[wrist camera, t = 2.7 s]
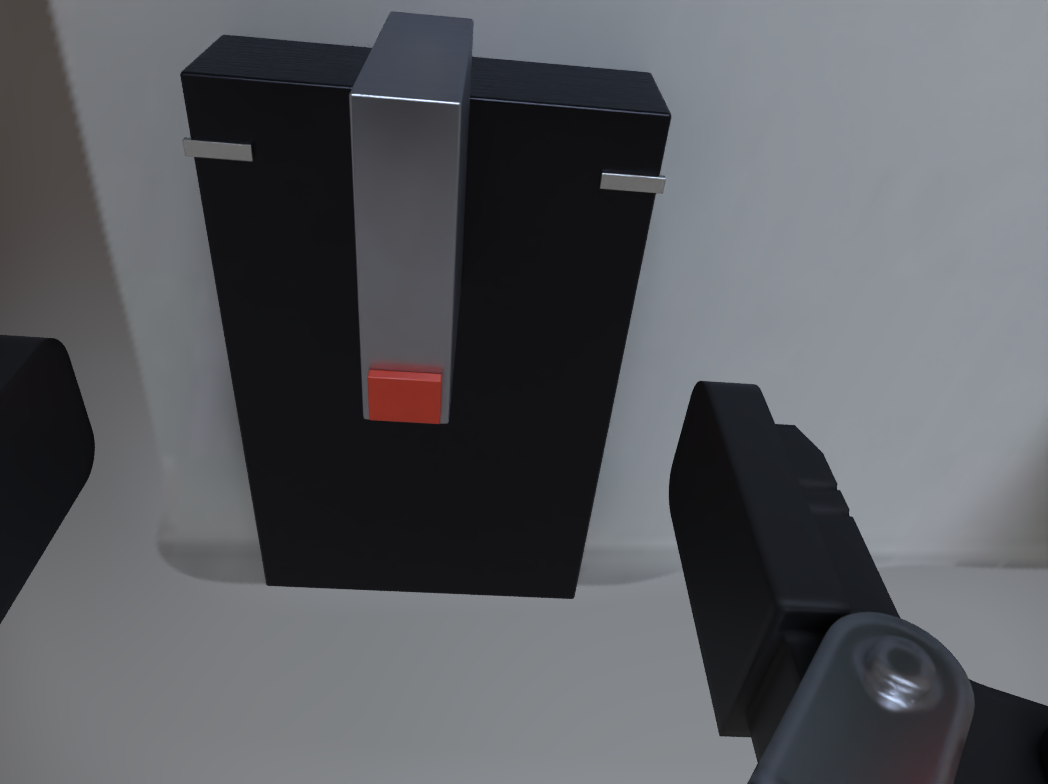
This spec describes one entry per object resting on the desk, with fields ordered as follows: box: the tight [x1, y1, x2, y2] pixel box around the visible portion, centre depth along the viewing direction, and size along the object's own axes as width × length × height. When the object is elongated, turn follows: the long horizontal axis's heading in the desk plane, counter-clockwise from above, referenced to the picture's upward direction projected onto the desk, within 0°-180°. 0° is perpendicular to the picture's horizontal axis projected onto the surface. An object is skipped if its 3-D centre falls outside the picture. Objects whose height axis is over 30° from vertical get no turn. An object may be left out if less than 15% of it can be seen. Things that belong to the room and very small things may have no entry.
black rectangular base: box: [180, 35, 671, 599], centre depth 21 cm, size 20×10×3 cm, turn 175°
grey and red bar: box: [349, 12, 474, 424], centre depth 15 cm, size 6×2×5 cm, turn 175°
